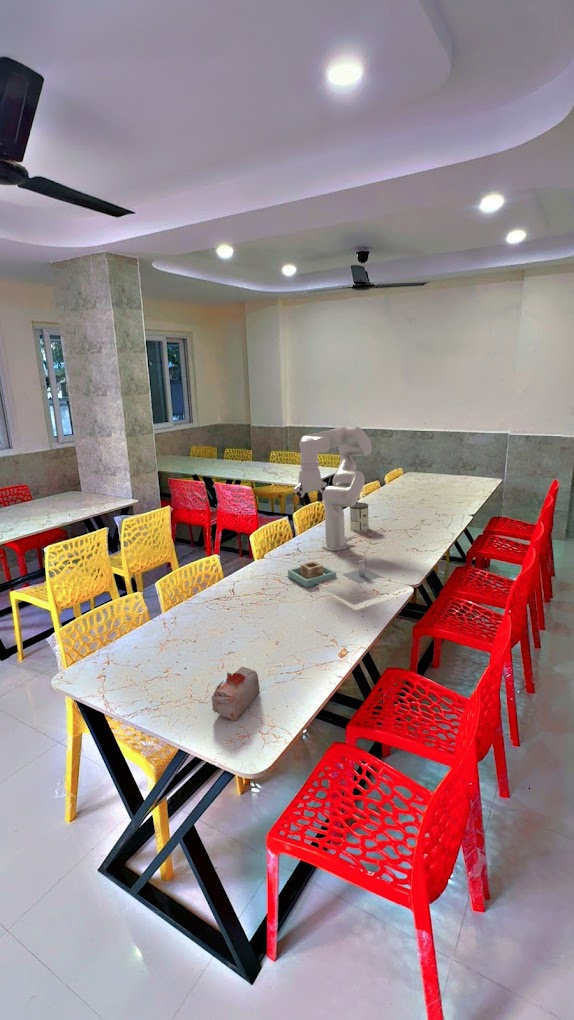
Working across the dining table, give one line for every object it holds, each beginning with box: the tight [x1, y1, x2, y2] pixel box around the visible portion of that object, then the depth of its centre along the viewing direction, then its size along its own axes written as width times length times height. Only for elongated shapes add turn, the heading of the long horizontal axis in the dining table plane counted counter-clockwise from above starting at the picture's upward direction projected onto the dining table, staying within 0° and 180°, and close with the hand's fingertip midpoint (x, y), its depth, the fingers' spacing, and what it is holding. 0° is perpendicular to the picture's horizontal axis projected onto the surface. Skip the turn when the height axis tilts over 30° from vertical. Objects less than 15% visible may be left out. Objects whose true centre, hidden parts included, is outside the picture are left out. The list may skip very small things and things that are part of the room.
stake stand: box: [342, 559, 383, 585], centre depth 216 cm, size 12×12×8 cm
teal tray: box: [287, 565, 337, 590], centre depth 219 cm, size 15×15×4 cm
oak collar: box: [299, 560, 324, 579], centre depth 219 cm, size 7×7×6 cm
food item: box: [211, 666, 261, 722], centre depth 136 cm, size 14×8×10 cm, turn 152°
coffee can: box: [349, 502, 369, 533], centre depth 283 cm, size 10×10×14 cm
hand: (311, 503), depth 232 cm, fingers open, 9 cm apart
